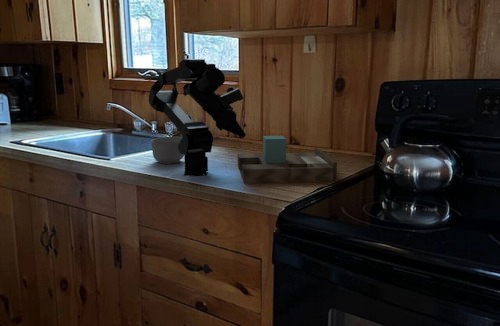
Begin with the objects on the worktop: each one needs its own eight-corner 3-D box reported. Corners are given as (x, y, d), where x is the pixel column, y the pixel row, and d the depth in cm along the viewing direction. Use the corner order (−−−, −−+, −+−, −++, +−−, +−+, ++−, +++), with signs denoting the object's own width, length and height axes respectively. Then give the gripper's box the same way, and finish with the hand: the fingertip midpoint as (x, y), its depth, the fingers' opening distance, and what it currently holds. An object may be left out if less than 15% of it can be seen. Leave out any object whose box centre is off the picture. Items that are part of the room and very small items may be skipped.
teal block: (265, 162, 136) (265, 139, 134) (262, 158, 142) (262, 135, 140) (285, 162, 136) (286, 138, 135) (282, 158, 142) (282, 135, 141)
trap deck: (244, 183, 128) (244, 164, 127) (237, 166, 150) (237, 149, 148) (336, 181, 131) (337, 162, 130) (316, 164, 152) (317, 148, 151)
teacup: (183, 165, 150) (182, 141, 149) (149, 165, 150) (148, 141, 148) (186, 157, 164) (186, 134, 162) (155, 157, 163) (154, 134, 162)
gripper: (228, 79, 123) (268, 121, 127) (225, 76, 141) (260, 113, 145) (198, 109, 124) (239, 149, 128) (199, 102, 142) (235, 138, 146)
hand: (244, 136), depth 136 cm, fingers closed
